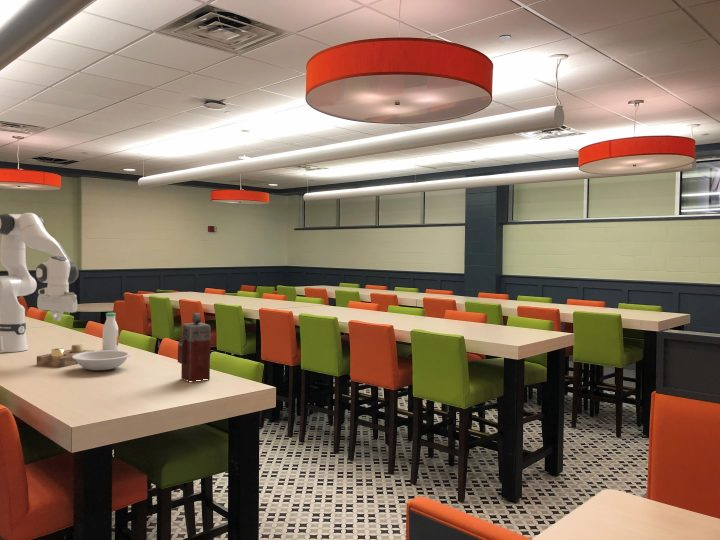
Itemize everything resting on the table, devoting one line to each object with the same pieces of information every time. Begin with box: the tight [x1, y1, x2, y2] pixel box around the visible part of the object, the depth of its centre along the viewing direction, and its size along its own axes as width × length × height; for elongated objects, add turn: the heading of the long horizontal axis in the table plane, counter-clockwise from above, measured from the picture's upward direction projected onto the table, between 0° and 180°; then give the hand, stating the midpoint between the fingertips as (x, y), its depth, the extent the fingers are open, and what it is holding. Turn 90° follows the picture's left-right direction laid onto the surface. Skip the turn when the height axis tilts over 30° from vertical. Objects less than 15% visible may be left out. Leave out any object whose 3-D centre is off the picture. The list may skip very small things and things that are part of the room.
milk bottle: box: [101, 312, 119, 351], centre depth 300 cm, size 8×8×20 cm
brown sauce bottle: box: [177, 312, 212, 381], centre depth 236 cm, size 9×11×28 cm
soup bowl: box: [72, 350, 132, 371], centre depth 252 cm, size 24×24×7 cm
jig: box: [36, 344, 93, 368], centre depth 266 cm, size 14×22×7 cm, turn 165°
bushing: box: [50, 347, 65, 357], centre depth 261 cm, size 5×5×7 cm
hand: (56, 320), depth 263 cm, fingers closed
